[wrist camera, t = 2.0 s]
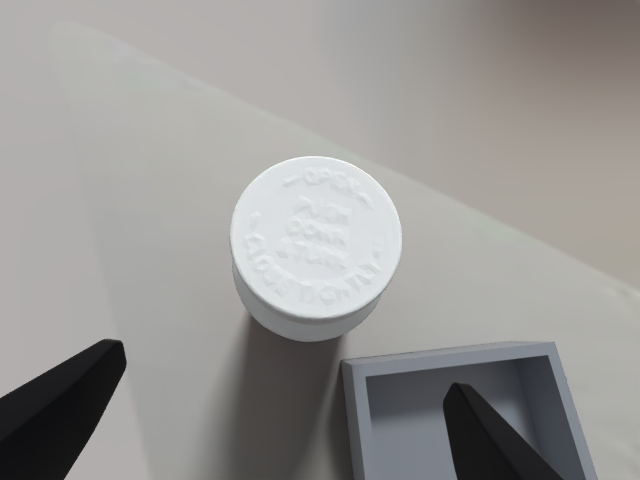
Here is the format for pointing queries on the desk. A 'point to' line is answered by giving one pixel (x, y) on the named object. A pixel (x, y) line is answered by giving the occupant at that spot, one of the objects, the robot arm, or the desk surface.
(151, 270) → the desk surface
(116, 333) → the desk surface
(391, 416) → the slate tray
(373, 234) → the pill bottle
